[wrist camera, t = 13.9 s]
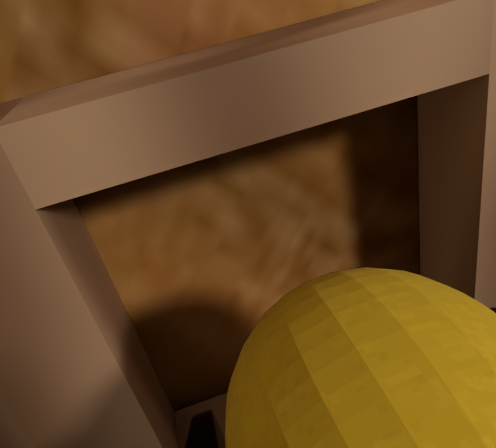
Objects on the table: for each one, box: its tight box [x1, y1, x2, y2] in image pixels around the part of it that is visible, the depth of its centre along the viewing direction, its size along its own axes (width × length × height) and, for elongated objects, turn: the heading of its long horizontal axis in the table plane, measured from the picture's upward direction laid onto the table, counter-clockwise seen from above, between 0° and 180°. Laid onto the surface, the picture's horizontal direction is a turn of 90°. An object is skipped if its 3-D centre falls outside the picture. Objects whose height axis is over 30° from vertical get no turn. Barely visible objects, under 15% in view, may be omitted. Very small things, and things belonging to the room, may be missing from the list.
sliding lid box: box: [0, 0, 496, 448], centre depth 13 cm, size 16×20×4 cm
